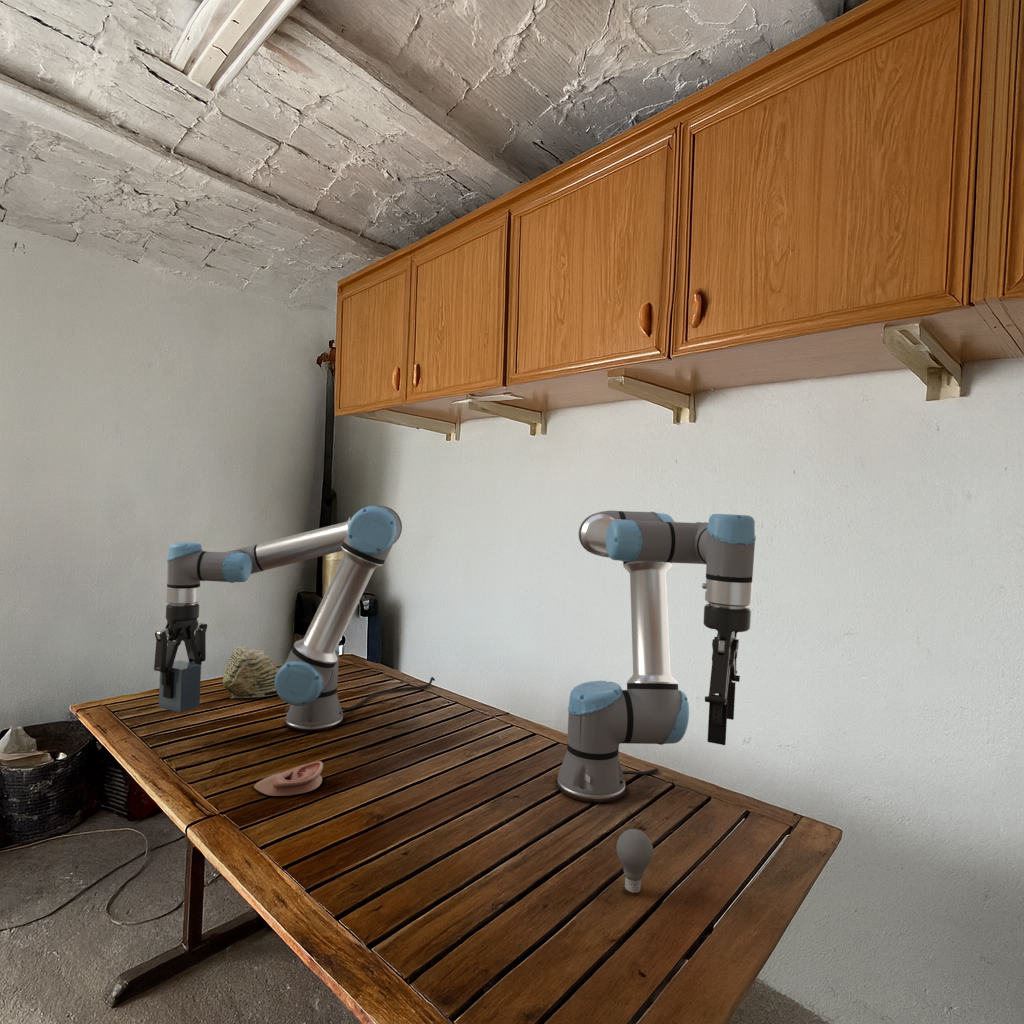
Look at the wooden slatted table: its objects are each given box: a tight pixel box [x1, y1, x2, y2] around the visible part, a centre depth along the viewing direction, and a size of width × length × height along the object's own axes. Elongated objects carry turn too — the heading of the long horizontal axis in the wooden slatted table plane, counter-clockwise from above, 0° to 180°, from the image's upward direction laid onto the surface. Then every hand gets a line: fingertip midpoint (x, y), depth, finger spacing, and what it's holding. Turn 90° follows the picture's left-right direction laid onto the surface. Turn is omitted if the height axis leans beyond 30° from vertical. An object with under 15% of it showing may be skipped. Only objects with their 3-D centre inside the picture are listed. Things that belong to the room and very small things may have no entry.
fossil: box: [222, 646, 280, 699], centre depth 198 cm, size 9×18×15 cm, turn 132°
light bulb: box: [615, 828, 654, 894], centre depth 106 cm, size 6×6×10 cm
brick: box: [158, 660, 202, 714], centre depth 161 cm, size 6×8×11 cm
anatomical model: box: [253, 760, 324, 797], centre depth 138 cm, size 13×4×12 cm
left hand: (179, 693), depth 161 cm, fingers closed on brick, 6 cm apart
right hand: (721, 729), depth 107 cm, fingers open, 13 cm apart
